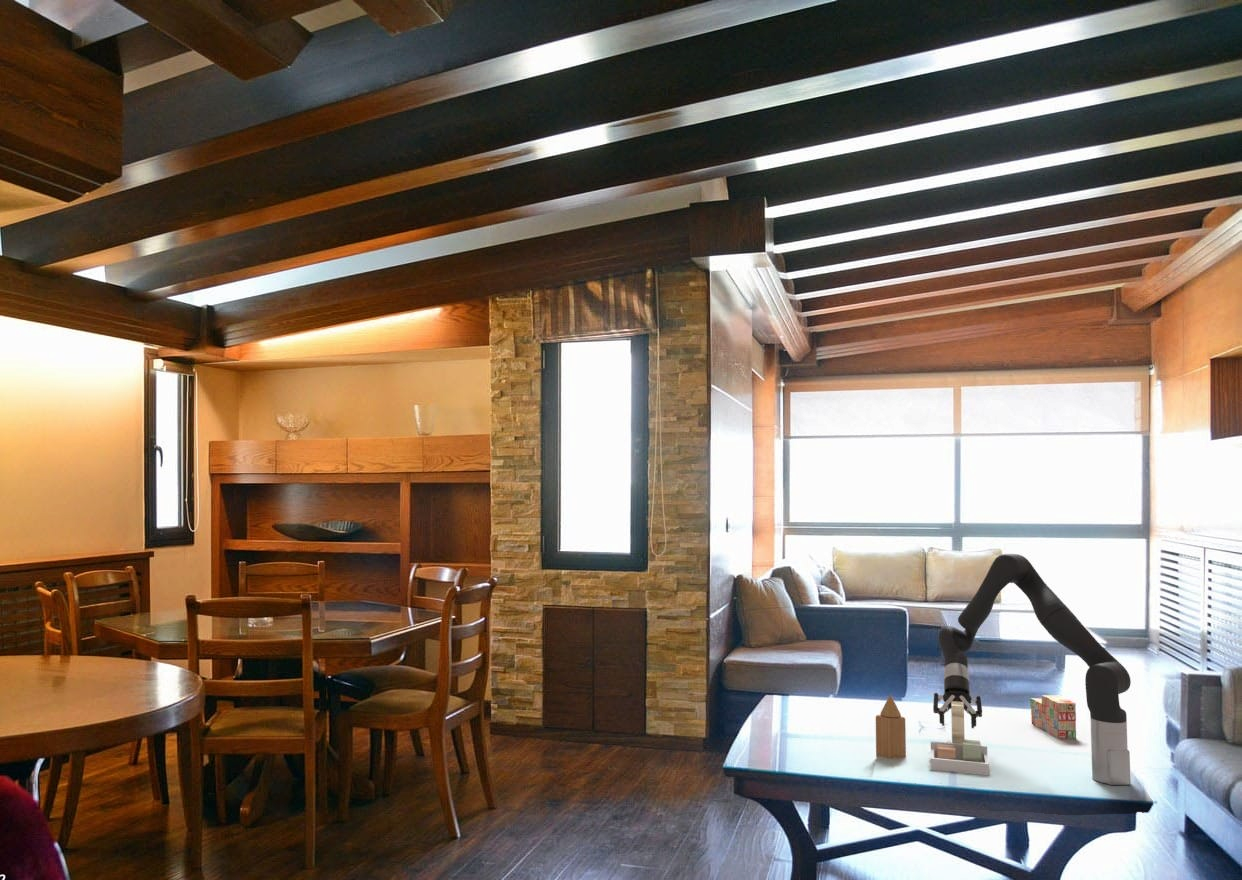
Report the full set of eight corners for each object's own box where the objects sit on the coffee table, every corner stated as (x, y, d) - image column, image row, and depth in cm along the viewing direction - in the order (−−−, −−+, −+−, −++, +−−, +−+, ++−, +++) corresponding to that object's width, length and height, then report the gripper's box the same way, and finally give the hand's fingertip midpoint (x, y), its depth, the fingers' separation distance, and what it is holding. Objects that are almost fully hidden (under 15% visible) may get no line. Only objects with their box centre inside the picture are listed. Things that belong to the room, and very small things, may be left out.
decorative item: (906, 761, 274) (905, 695, 276) (890, 763, 271) (889, 696, 273) (891, 755, 280) (890, 691, 282) (875, 758, 277) (874, 692, 279)
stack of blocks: (1030, 723, 324) (1030, 689, 325) (1048, 724, 324) (1047, 689, 325) (1058, 739, 303) (1057, 702, 304) (1076, 739, 302) (1075, 702, 303)
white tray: (989, 780, 256) (989, 757, 256) (930, 774, 261) (930, 751, 261) (985, 758, 278) (985, 736, 279) (931, 753, 283) (930, 732, 284)
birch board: (964, 760, 270) (963, 706, 272) (952, 759, 272) (951, 705, 273) (964, 754, 277) (963, 701, 278) (952, 753, 278) (951, 700, 279)
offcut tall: (981, 770, 260) (980, 745, 261) (963, 768, 262) (962, 744, 262) (980, 764, 266) (980, 740, 266) (962, 763, 267) (962, 739, 268)
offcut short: (955, 767, 263) (955, 749, 263) (937, 765, 265) (937, 748, 265) (955, 762, 268) (955, 745, 268) (937, 761, 269) (937, 744, 270)
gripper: (932, 672, 286) (933, 716, 274) (980, 675, 281) (983, 720, 270) (933, 686, 291) (933, 730, 279) (980, 689, 286) (982, 734, 274)
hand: (957, 725), depth 274 cm, fingers open, 8 cm apart
